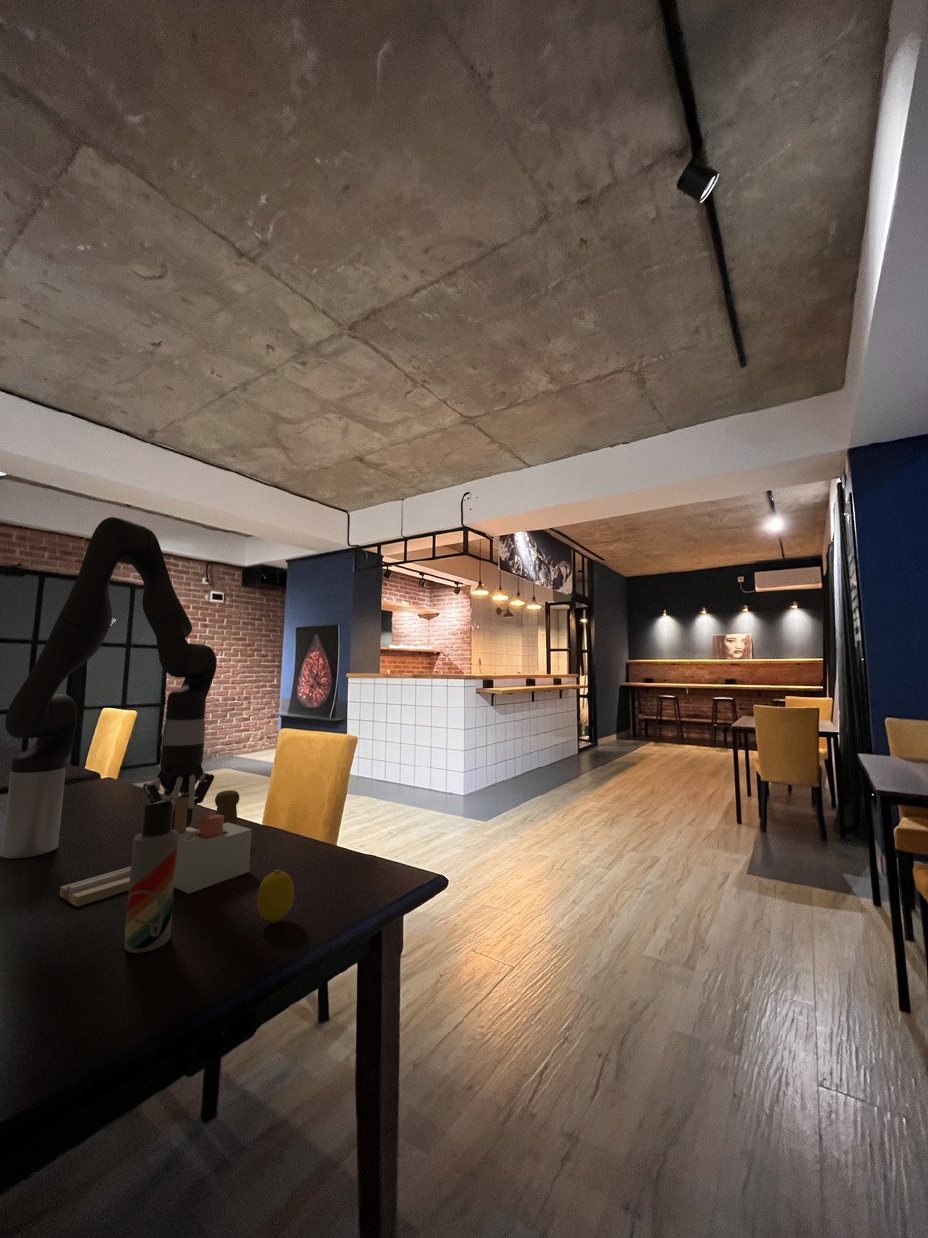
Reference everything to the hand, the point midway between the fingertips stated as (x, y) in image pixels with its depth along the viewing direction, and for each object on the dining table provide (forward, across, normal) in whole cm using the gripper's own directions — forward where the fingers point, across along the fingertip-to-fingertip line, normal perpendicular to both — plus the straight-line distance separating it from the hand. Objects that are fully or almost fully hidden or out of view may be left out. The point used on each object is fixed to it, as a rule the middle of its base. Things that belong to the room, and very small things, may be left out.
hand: (176, 828), depth 100 cm
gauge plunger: (+3, -2, +10) cm, 10 cm away
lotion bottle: (+8, +16, +24) cm, 31 cm away
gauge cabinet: (+8, -2, +10) cm, 12 cm away
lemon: (+8, +2, +34) cm, 35 cm away
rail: (+8, +5, 0) cm, 9 cm away
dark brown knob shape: (+8, -16, -8) cm, 19 cm away
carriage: (+5, 0, 0) cm, 5 cm away
